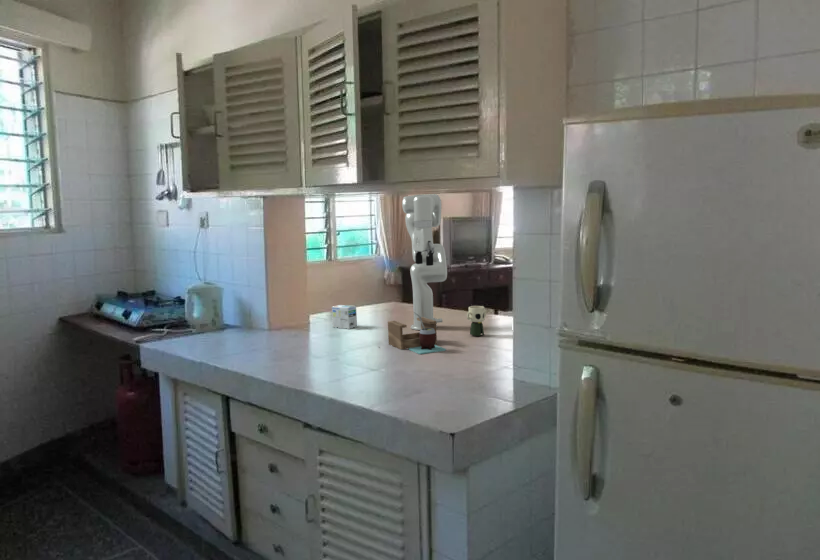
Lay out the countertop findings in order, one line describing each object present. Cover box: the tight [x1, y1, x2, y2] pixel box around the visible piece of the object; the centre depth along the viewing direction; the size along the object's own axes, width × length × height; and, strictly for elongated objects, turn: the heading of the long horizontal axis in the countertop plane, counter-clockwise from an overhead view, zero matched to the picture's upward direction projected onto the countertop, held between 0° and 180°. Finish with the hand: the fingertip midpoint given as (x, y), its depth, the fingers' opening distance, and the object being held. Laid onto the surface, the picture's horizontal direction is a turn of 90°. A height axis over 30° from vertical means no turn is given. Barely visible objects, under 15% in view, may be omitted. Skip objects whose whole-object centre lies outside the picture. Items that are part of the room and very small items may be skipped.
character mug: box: [466, 305, 487, 337], centre depth 285 cm, size 11×7×13 cm, turn 125°
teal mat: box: [408, 344, 447, 355], centre depth 261 cm, size 12×10×1 cm
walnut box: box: [387, 317, 438, 351], centre depth 272 cm, size 17×12×10 cm
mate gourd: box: [413, 311, 437, 350], centre depth 261 cm, size 8×8×15 cm
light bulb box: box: [331, 304, 358, 330], centre depth 316 cm, size 11×7×11 cm, turn 58°
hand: (424, 264), depth 276 cm, fingers open, 9 cm apart
